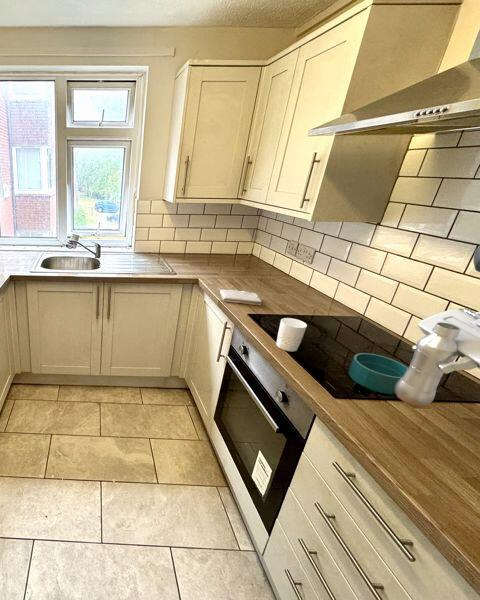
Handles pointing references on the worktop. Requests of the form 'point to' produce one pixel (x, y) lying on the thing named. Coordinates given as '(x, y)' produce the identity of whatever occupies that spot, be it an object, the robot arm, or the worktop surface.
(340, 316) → the worktop surface
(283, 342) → the white cup
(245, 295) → the washcloth
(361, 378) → the bowl
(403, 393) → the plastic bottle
